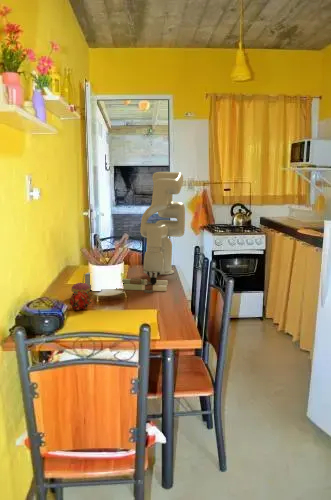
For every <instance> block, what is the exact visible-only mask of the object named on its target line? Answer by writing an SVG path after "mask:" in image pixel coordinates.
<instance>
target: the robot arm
mask: <svg viewBox="0 0 331 500" xmlns="http://www.w3.org/2000/svg"><path fill="white" fill-rule="evenodd" d="M152 182H153V188H152V198H151V205H150V206H148V208H146V209H145V211H144V212H143V215H142V216H141V221H140V222H141V223H140V229H139V230H140V235H141V236H142V238H146V251H145V252H144V257H143V258H144V259H143V272H142V273H143V274H146V275H148V277H149V278H150V279H149V280H150V281H149V282H150V283H152V284H150V285H151V286H153V285H155V283H156V280H157V278H158V276H159V275H165V276H166V275H173V274H174V273H175V271H174V269H172V262H173V242H172V240H171V239H170V237H179V238H180V237H183V236H184V234H185V231H186V229H185V228H186V227H185V226H186V207H185V204H184V203H183V202H181V201H173V199H174V198H173V195H179V194H180V192H181V190H182V187H183V184H184V175H183V174H182V173H181V172H179V171H157V172H154V173H153V174H152ZM155 214H157V215H158V216H159V217H160V218H163V219H160V220H157V221H156V222H155V223H154V222H153V223H152V222H151V223H149V222H148V220H149V218H151V216H153V215H155ZM164 218H165V219H164ZM169 219H170V220H169ZM171 219H176V220H171ZM153 273H154V274H153Z"/></svg>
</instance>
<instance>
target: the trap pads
mask: <svg viewBox="0 0 331 500" xmlns="http://www.w3.org/2000/svg"><path fill="white" fill-rule="evenodd" d="M151 284H152V283H150V281H147V285H151ZM153 292H154V291H153V289H145V290H143V293H144V294H145V293H146V294H148V293H149V294H153Z"/></svg>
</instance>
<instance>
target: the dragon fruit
mask: <svg viewBox="0 0 331 500" xmlns="http://www.w3.org/2000/svg"><path fill="white" fill-rule="evenodd" d="M91 298H92V297H91V295H90V294H89V292H88V293H87V292H86V291H83V292H81V291H78V293H74V292H73V293H72V294H71V296H70V297H69V305H70V307H72V309H73V311H75V312H77V311H80V310H83V311H84V310H87V309H88V306H90V305H91V304H92V301H90V300H91Z"/></svg>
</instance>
